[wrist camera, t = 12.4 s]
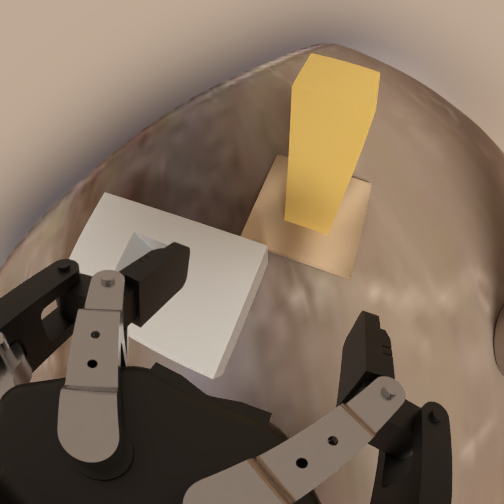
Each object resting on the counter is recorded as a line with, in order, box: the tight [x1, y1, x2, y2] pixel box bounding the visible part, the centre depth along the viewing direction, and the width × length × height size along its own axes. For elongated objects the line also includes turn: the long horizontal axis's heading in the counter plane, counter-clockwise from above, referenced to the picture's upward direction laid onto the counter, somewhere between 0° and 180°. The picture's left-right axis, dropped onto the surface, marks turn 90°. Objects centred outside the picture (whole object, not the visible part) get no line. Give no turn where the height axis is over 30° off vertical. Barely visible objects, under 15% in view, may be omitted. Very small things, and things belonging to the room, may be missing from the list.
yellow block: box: [284, 53, 380, 235], centre depth 18 cm, size 4×4×14 cm
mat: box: [241, 154, 372, 279], centre depth 25 cm, size 10×10×1 cm
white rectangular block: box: [69, 192, 268, 379], centre depth 21 cm, size 16×10×4 cm, turn 69°
